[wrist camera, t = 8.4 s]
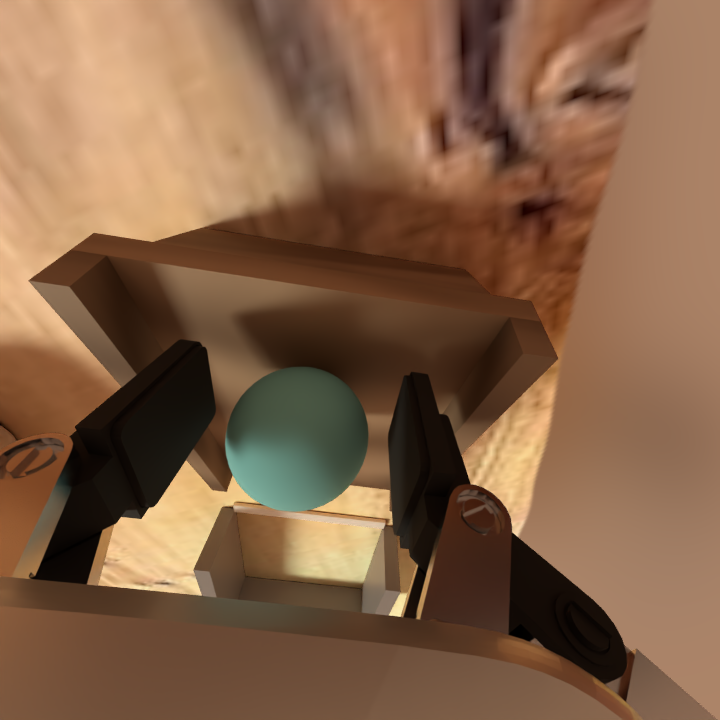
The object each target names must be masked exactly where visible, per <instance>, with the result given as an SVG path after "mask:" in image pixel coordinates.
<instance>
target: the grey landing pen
mask: <svg viewBox="0 0 720 720" xmlns="http://www.w3.org/2000/svg"><path fill="white" fill-rule="evenodd" d="M233 507H234V508H226V507H222V508H221V511H220V513H219V515H218V517H217V519H216V522H215V524H214V526H213V528H212V530H211V533H210V535H209V537H208V539H207V541H206V544H205V546H204V548H203V550H202V552H201V554H200V557H199V559H198V561H197V563H196V565H195V568H194V573H195V576H196V579H197V582H198V585H199V588H200V591H201V594H202V596H208V597H217V598H227V599H237V600H247V601H257V602H266V603H276V604H285V605H295V606H304V607H314V608H323V609H332V610H342V611H351V612H361V613H370V614H379V615H389V613H390V611H391V609H392V607H393V605H394V604H395V602H396V600H397V598H398V596H399V594H400V592H401V591H400V577H399V562H398V548H397V535H394V532H393V527H390V526H385V523H386V522H385V520H382V519H374V518H365V517H357V516H348V515H340V514H331V513H323V512H314V511H300V512H289V511H280V510H275V509H272V508H270V507H267V506H263V505H254V504H246V503H237V502H234V505H233ZM236 512H240V513H249V514H257V515H266V516H275V517H283V518H292V519H301V520H309V521H318V522H327V523H335V524H344V525H353V526H361V527H370V528H379V529H382V531H381V534H380V537H379V540H378V543H377V546H376V549H375V551H374V554H373V557H372V560H371V563H370V566H369V569H368V572H367V575H366V578H365V580H364V583H363V586H362V589H357V588H347V587H338V586H328V585H319V584H309V583H300V582H290V581H281V580H271V579H262V578H252V577H245V572H244V565H243V558H242V551H241V544H240V537H239V530H238V523H237V516H236Z"/></svg>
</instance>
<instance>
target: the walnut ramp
mask: <svg viewBox="0 0 720 720" xmlns="http://www.w3.org/2000/svg"><path fill="white" fill-rule="evenodd" d="M29 282H30V283H31V284H32V285H33V287H34V288H35V289H36V290H37V291H38V292H39V293H40V294H41V296H42V297H43V298H44V299H45V300H46V301H47V302H48V304H49V305H50V306H51V307H52V308H53V309H54V310H55V312H56V313H57V314H58V315H59V316H60V317H61V318H62V319H63V321H64V322H65V323H66V324H67V325H68V326H69V327H70V329H71V330H72V331H73V332H74V333H75V334H76V335H77V337H78V338H79V339H80V340H81V341H82V342H83V343H84V344H85V346H86V347H87V348H88V349H89V350H90V351H91V352H92V354H93V355H94V356H95V357H96V358H97V359H98V360H99V362H100V363H101V364H102V365H103V366H104V367H105V368H106V369H107V371H108V372H109V373H110V374H111V375H112V376H113V377H114V379H115V380H116V381H117V382H118V383H119V384H120V385H121V387H123V386H124V385H125V384H126V383H128V382H129V381H130V380H131V379H132V378H134V377H135V376H136V375H137V374H138V373H140V372H141V371H142V370H143V369H144V368H146V367H147V366H148V365H149V364H150V363H152V362H153V361H154V360H155V359H156V358H158V357H159V356H160V355H161V354H162V353H164V352H165V351H166V350H167V349H168V348H170V347H171V346H172V345H173V344H174V343H176V342H177V341H178V340H180V339H184V340H191V341H198V342H200V343H201V344H202V346H203V347H206V349H207V352H208V359H209V365H210V372H211V378H212V385H213V391H214V398H215V404H216V413H215V416H214V418H213V420H212V421H211V423H210V424H209V426H208V427H207V429H206V430H205V432H204V433H203V435H202V436H201V438H200V439H199V441H198V442H197V444H196V445H195V447H194V448H193V450H192V451H191V453H190V454H189V456H188V458H187V459H186V460H187V462H188V463H189V464H190V465H191V466H192V467H193V468H194V469H195V471H196V472H197V473H198V474H199V475H200V476H201V477H202V479H203V480H204V481H205V482H206V483H207V484H208V485H209V487H210V488H211V489H212V490H216V491H225V492H227V489H228V486H229V484H230V481H231V478H232V472H231V470H230V467H229V464H228V460H227V456H226V447H225V440H226V430H227V425H228V422H229V419H230V416H231V413H232V411H233V409H234V407H235V405H236V404H237V402H238V400H239V399H240V397H241V396H242V395H243V394H244V393H245V391H246V390H247V389H248V388H249V387H251V386H252V385H253V384H254V383H255V382H257V381H258V380H259V379H261V378H262V377H264V376H266V375H268V374H270V373H272V372H275V371H278V370H280V369H285V368H290V367H312V368H317V369H321V370H323V371H326V372H329V373H331V374H333V375H334V376H336V377H338V378H339V379H341V380H342V381H343V382H344V383H346V384H347V385H348V386H349V387H350V388H351V389H352V391H353V392H354V393H355V395H356V396H357V397H358V399H359V401H360V403H361V405H362V407H363V409H364V412H365V415H366V418H367V423H368V432H369V437H368V447H367V453H366V456H365V459H364V462H363V465H362V467H361V469H360V471H359V473H358V474H357V476H356V478H355V479H354V481H353V482H352V483H351V484H350V485H354V486H362V487H370V488H379V489H387V490H390V511H392V502H391V485H390V469H389V452H388V432H389V428H390V424H391V421H392V417H393V414H394V410H395V406H396V403H397V399H398V395H399V392H400V388H401V385H402V381H403V378H404V375H410V373H411V372H418V373H425V374H428V376H429V379H430V382H431V386H432V389H433V393H434V396H435V400H436V403H437V407H438V410H439V414H445V415H447V416H448V417H449V419H450V422H451V425H452V428H453V431H454V434H455V437H456V441H457V444H458V447H459V450H460V453H461V455H462V454H463V453H464V452H465V451H466V450H467V449H468V448H469V447H470V446H471V445H472V444H473V443H474V442H475V441H476V440H477V439H478V438H479V437H480V436H481V435H482V434H483V433H484V432H485V431H486V430H487V429H488V428H489V427H490V426H491V425H492V424H493V423H494V422H495V421H496V420H497V419H498V418H499V417H500V416H501V415H502V414H503V413H504V412H505V411H506V410H507V409H508V408H509V407H510V406H511V405H512V404H513V403H514V402H515V401H516V400H517V399H518V398H519V397H520V396H521V395H522V394H523V393H524V392H525V391H526V390H527V389H528V388H529V387H530V386H531V385H532V384H533V383H534V382H535V381H536V380H537V379H538V378H539V377H540V376H541V375H542V374H543V373H544V372H545V371H546V370H547V369H548V368H549V367H550V366H551V365H552V364H553V363H554V362H555V361H556V360H557V359H558V357H557V355H556V353H555V350H554V348H553V346H552V344H551V342H550V340H549V338H548V336H547V334H546V331H545V329H544V327H543V325H542V323H541V321H540V319H539V317H538V314H537V312H536V310H535V308H534V306H533V304H532V302H531V301H527V300H521V299H514V298H508V297H501V296H495V295H491V294H490V293H489V292H488V291H487V290H486V289H485V288H484V287H483V286H482V285H481V284H480V283H479V282H478V281H477V280H476V279H475V278H473V277H472V276H471V275H470V274H469V273H468V272H467V271H466V270H464V269H458V268H452V267H445V266H439V265H433V264H427V263H420V262H414V261H408V260H401V259H395V258H389V257H383V256H376V255H370V254H364V253H358V252H351V251H345V250H339V249H332V248H326V247H320V246H314V245H307V244H301V243H295V242H289V241H282V240H276V239H270V238H263V237H257V236H251V235H245V234H238V233H232V232H226V231H219V230H213V229H207V228H199V229H196V230H193V231H189V232H186V233H182V234H179V235H175V236H172V237H168V238H165V239H161V240H158V241H155V242H149V241H142V240H136V239H129V238H123V237H117V236H110V235H104V234H97V233H93V234H92V235H91V236H89V237H88V238H86V239H85V240H84V241H82V242H81V243H79V244H78V245H77V246H75V247H74V248H73V249H71V250H70V251H69V252H67V253H66V254H64V255H63V256H62V257H60V258H59V259H58V260H56V261H55V262H53V263H52V264H51V265H49V266H48V267H46V268H45V269H44V270H42V271H41V272H40V273H38V274H37V275H35V276H34V277H33V278H31V279H30V280H29Z"/></svg>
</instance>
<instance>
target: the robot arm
mask: <svg viewBox="0 0 720 720" xmlns="http://www.w3.org/2000/svg"><path fill="white" fill-rule="evenodd" d="M215 413H216V404H215V398H214V391H213V385H212V378H211V372H210V365H209V359H208V352H207V349H206V347H203V346H202V344H201V343H200V342H198V341H191V340H184V339H180V340H178V341H177V342H176V343H174V344H173V345H172V346H171V347H170V348H168V349H167V350H166V351H165V352H164V353H162V354H161V355H160V356H159V357H158V358H156V359H155V360H154V361H153V362H152V363H150V364H149V365H148V366H147V367H146V368H144V369H143V370H142V371H141V372H140V373H138V374H137V375H136V376H135V377H134V378H132V379H131V380H130V381H129V382H128V383H126V384H125V385H124V386H123V387H122V388H120V389H119V390H118V391H117V392H116V393H114V394H113V395H112V396H111V397H110V398H108V399H107V400H106V401H105V402H104V403H102V404H101V405H100V406H99V407H98V408H96V409H95V410H94V411H93V412H92V413H90V414H89V415H88V416H87V417H86V418H84V419H83V420H82V421H81V422H80V423H78V424H77V425H76V426H75V428H76V430H77V431H76V432H74V433H73V434H72V435H71V436H70V437H68V436H67V435H65V434H60V433H43V434H38V435H34V436H29V437H27V438H24V439H21V440H18V441H15V442H13V443H12V444H10V445H8V446H6V447H4V448H2V449H0V720H717V719H716V718H715V717H714V716H713V715H711V714H710V713H709V712H708V711H707V710H706V709H705V708H704V707H702V706H701V705H700V704H699V703H698V702H697V701H696V700H694V699H693V698H692V697H691V696H690V695H689V694H687V693H686V692H685V691H684V690H683V689H682V688H681V687H680V686H678V685H677V684H676V683H675V682H674V681H673V680H672V679H671V678H669V677H668V676H667V675H666V674H665V673H664V672H663V671H661V670H660V669H659V668H658V667H657V666H656V665H655V664H653V663H652V662H651V661H650V660H649V659H648V658H647V657H646V656H644V655H643V654H642V653H641V652H640V651H639V650H638V649H635V650H632V651H631V650H629V649H628V648H627V647H626V646H625V645H624V644H623V640H622V638H621V636H620V634H619V632H618V630H617V629H616V627H615V625H614V623H613V622H612V621H611V619H610V618H609V617H608V615H607V614H606V613H605V611H604V610H603V609H602V608H601V607H600V606H599V605H598V604H597V603H596V602H595V601H594V600H593V599H591V598H590V597H589V596H588V595H586V594H585V593H584V592H583V591H582V590H581V589H579V588H578V587H577V586H576V585H575V584H573V583H572V582H571V581H570V580H569V579H567V578H566V577H565V576H564V575H563V574H561V573H560V572H559V571H557V570H556V569H555V568H554V567H553V566H552V565H551V564H549V563H548V562H547V561H546V560H545V559H543V558H542V557H541V556H540V555H538V554H537V553H536V552H535V551H534V550H532V549H531V548H530V547H529V546H528V545H527V544H525V543H524V542H523V541H522V540H520V539H519V538H518V537H517V536H516V535H515V534H513V533H512V524H511V518H510V515H509V513H508V511H507V509H506V507H505V506H504V505H503V503H502V502H501V501H500V500H499V499H498V498H497V497H496V496H495V495H494V494H493V493H491V492H489V491H488V490H486V489H484V488H482V487H479V486H477V485H471V484H470V481H469V478H468V475H467V472H466V468H465V465H464V462H463V459H462V456H461V453H460V450H459V447H458V444H457V441H456V437H455V434H454V431H453V428H452V425H451V422H450V419H449V417H448V416H447V415H445V414H439V410H438V407H437V403H436V400H435V396H434V393H433V389H432V386H431V382H430V379H429V376H428V374H425V373H418V372H411V373H410V375H404V378H403V381H402V385H401V388H400V392H399V395H398V399H397V403H396V406H395V410H394V414H393V417H392V421H391V424H390V428H389V432H388V452H389V469H390V485H391V502H392V518H393V532H394V535H397V536H400V548H404V549H409V553H410V557H411V558H412V559H413V560H414V561H415V562H416V567H415V570H414V573H413V577H412V580H411V584H410V587H409V590H408V594H407V597H406V600H405V604H404V607H403V611H402V614H401V617H396V616H388V615H379V614H370V613H361V612H351V611H342V610H332V609H323V608H314V607H304V606H295V605H285V604H276V603H266V602H257V601H247V600H237V599H227V598H217V597H208V596H198V595H188V594H178V593H168V592H158V591H148V590H138V589H128V588H118V587H108V586H98V583H99V580H100V576H101V572H102V568H103V565H104V561H105V557H106V553H107V550H108V546H109V542H110V538H111V535H112V531H113V527H114V524H116V523H117V521H118V520H119V519H120V517H129V518H137V519H142V517H143V516H144V514H145V513H146V511H147V510H148V508H149V507H154V506H155V505H156V504H157V503H158V501H159V500H160V498H161V497H162V495H163V494H164V492H165V491H166V489H167V488H168V486H169V485H170V483H171V482H172V480H173V479H174V477H175V476H176V474H177V473H178V471H179V470H180V468H181V467H182V465H183V464H184V462H185V461H186V459H187V458H188V456H189V454H190V453H191V451H192V450H193V448H194V447H195V445H196V444H197V442H198V441H199V439H200V438H201V436H202V435H203V433H204V432H205V430H206V429H207V427H208V426H209V424H210V423H211V421H212V420H213V418H214V416H215Z"/></svg>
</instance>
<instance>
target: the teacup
mask: <svg viewBox="0 0 720 720" xmlns="http://www.w3.org/2000/svg"><path fill="white" fill-rule="evenodd" d="M15 441H16V439H15V437H14V436H13V435H12V434H11V433H10V432H9V431H7V430H6V429H5V428H4V427H2V426H1V425H0V449H2V448H4V447H6V446H8V445H10V444H12V443H13V442H15Z"/></svg>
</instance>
